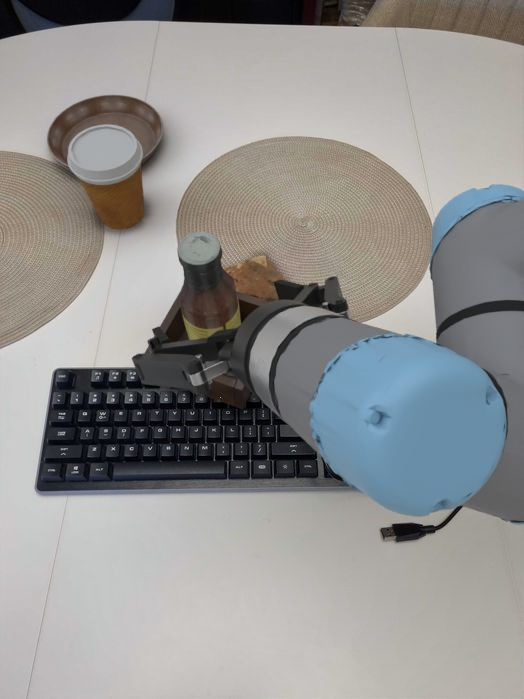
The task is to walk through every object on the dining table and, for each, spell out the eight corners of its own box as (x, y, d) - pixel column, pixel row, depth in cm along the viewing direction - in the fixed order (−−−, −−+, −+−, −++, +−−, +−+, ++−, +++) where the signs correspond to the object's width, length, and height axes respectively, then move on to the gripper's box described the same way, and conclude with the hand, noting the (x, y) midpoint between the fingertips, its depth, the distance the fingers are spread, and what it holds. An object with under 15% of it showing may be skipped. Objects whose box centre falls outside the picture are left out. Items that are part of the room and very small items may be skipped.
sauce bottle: (229, 321, 69) (220, 209, 52) (252, 359, 66) (251, 254, 49) (182, 342, 67) (156, 233, 50) (203, 382, 64) (184, 281, 47)
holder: (279, 330, 69) (281, 305, 64) (243, 411, 63) (242, 390, 58) (193, 301, 71) (189, 275, 66) (151, 377, 65) (143, 354, 61)
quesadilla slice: (306, 316, 70) (307, 308, 68) (255, 341, 68) (255, 334, 67) (265, 259, 75) (265, 250, 73) (215, 280, 73) (215, 272, 71)
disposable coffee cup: (169, 215, 78) (156, 147, 68) (116, 250, 75) (93, 185, 65) (129, 181, 82) (110, 112, 71) (76, 214, 78) (49, 145, 68)
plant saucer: (43, 187, 81) (36, 171, 78) (61, 111, 90) (55, 94, 87) (162, 185, 81) (159, 169, 79) (168, 109, 90) (166, 93, 88)
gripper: (145, 486, 35) (120, 394, 54) (461, 342, 40) (335, 306, 60) (99, 383, 33) (90, 326, 52) (440, 245, 38) (317, 241, 58)
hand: (221, 315), depth 56 cm, fingers open, 13 cm apart
